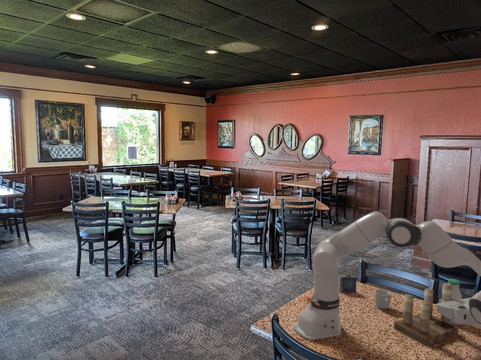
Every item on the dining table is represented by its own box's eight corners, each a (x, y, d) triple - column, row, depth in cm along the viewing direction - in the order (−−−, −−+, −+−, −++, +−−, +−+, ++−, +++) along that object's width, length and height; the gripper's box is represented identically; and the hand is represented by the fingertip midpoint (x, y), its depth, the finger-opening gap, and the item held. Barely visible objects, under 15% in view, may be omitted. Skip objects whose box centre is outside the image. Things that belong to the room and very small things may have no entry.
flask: (339, 292, 197) (340, 273, 196) (338, 290, 199) (339, 272, 198) (356, 292, 196) (357, 274, 195) (355, 290, 198) (355, 272, 197)
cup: (395, 313, 171) (396, 298, 170) (379, 313, 171) (380, 297, 171) (386, 303, 182) (387, 289, 181) (371, 303, 182) (372, 288, 181)
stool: (426, 346, 143) (428, 309, 141) (394, 328, 157) (395, 294, 156) (458, 333, 153) (460, 298, 151) (424, 317, 167) (426, 285, 165)
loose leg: (450, 322, 151) (452, 287, 150) (441, 320, 153) (442, 285, 152) (449, 319, 155) (451, 284, 153) (440, 317, 156) (442, 283, 155)
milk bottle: (458, 318, 166) (461, 278, 164) (463, 326, 159) (465, 284, 157) (440, 316, 168) (442, 276, 167) (444, 323, 161) (446, 282, 159)
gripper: (492, 302, 144) (462, 289, 157) (454, 309, 138) (426, 295, 151) (491, 317, 144) (462, 303, 157) (454, 324, 138) (426, 309, 151)
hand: (444, 299), depth 154 cm, fingers closed on loose leg, 4 cm apart
